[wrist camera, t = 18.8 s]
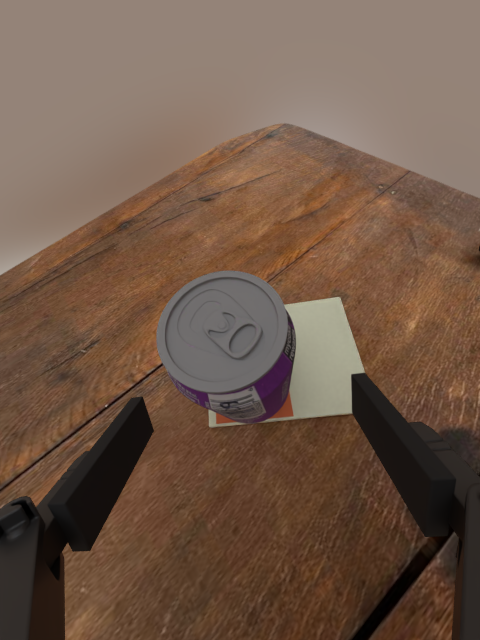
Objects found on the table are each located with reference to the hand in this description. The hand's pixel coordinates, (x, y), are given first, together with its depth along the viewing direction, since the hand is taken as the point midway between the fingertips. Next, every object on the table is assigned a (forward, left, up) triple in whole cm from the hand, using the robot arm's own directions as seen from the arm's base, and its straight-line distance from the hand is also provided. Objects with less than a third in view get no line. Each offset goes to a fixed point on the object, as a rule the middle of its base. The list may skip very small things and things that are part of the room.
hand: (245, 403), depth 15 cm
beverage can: (0, -3, -6) cm, 7 cm away
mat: (-3, -5, -7) cm, 9 cm away
